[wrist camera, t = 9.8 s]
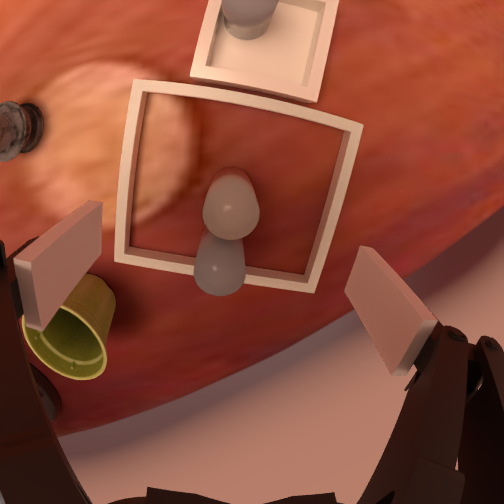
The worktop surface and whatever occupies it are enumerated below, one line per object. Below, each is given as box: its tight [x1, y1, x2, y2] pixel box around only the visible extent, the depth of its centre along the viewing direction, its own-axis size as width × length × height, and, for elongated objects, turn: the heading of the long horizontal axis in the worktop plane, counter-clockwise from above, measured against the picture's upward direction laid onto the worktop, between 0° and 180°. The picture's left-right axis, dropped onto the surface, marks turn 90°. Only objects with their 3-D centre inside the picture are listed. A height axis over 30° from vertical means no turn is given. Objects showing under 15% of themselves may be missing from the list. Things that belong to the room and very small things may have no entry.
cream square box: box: [190, 0, 339, 104], centre depth 21 cm, size 10×10×4 cm
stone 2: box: [203, 167, 260, 240], centre depth 25 cm, size 4×4×8 cm
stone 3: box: [193, 225, 246, 296], centre depth 26 cm, size 4×4×8 cm
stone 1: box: [222, 0, 279, 40], centre depth 18 cm, size 4×4×8 cm
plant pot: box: [22, 273, 116, 380], centre depth 28 cm, size 9×9×9 cm
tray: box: [114, 79, 363, 293], centre depth 27 cm, size 17×20×2 cm
